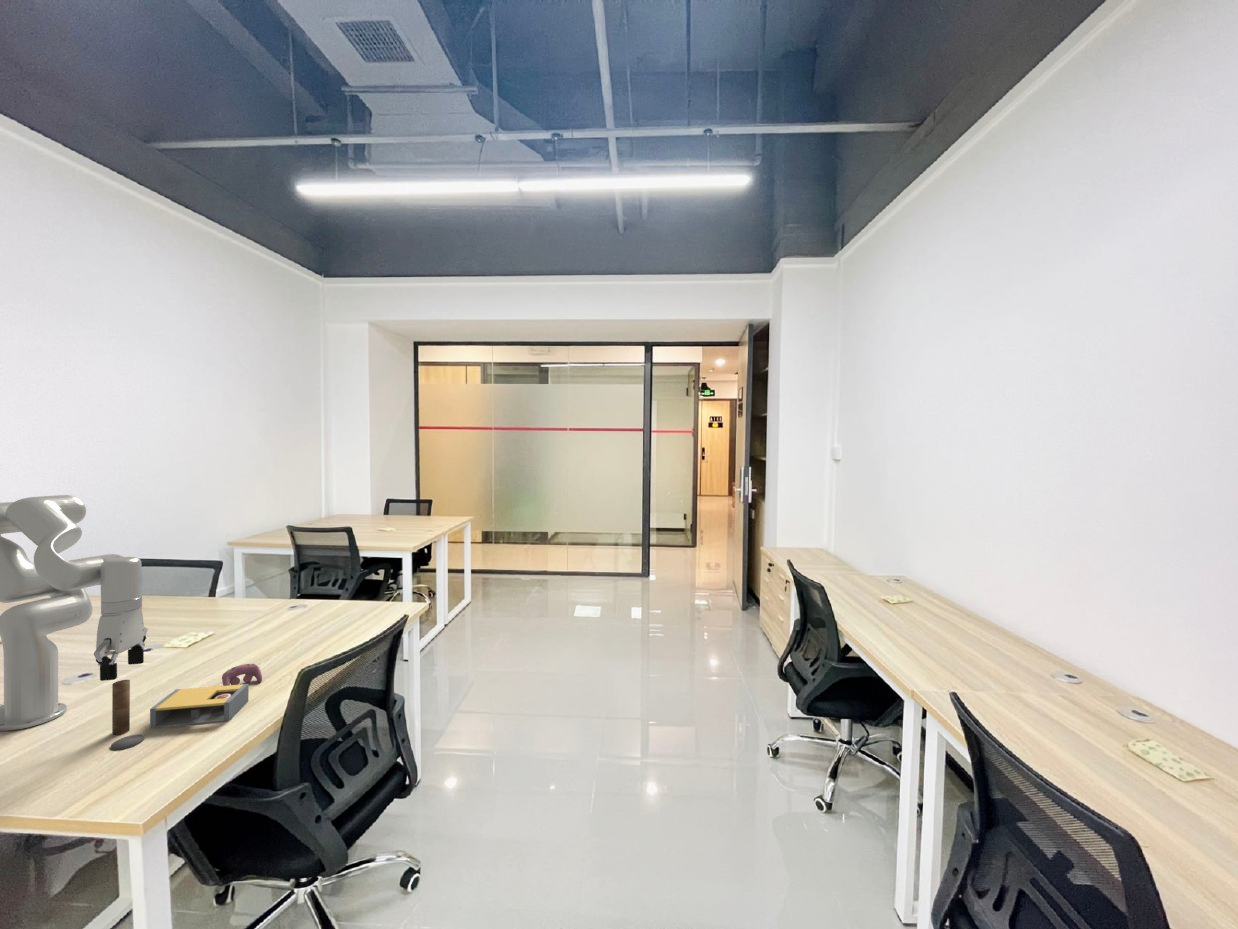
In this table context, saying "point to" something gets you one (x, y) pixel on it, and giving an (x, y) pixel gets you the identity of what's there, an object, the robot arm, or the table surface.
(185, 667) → the table surface
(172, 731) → the table surface
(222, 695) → the breaker button
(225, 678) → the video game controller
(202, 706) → the tan flat boxy piece
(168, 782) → the table surface
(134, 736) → the rubber pad
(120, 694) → the brown tall bar piece
